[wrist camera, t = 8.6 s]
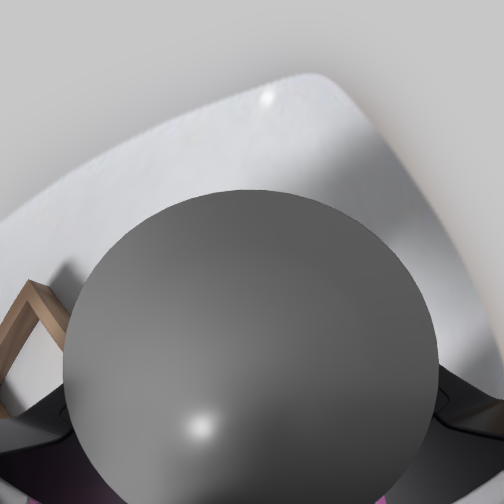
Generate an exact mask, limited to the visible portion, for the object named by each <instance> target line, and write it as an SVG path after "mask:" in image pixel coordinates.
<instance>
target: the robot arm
mask: <svg viewBox="0 0 504 504" xmlns="http://www.w3.org/2000/svg"><path fill="white" fill-rule="evenodd" d="M384 496H385V501H386V504H504V400H501V399H496V398H493V397H491V396H489V395H487V394H486V393H484V392H482V391H481V390H479V389H477V388H476V387H474V386H472V385H471V384H469V383H467V382H466V381H464V380H462V379H461V378H459V377H458V376H456V375H455V374H453V373H451V372H450V371H448V370H447V369H446V368H444V367H443V366H441V365H440V364H439V377H438V390H437V396H436V402H435V407H434V412H433V415H432V418H431V421H430V424H429V427H428V430H427V433H426V435H425V437H424V440H423V442H422V444H421V446H420V448H419V450H418V452H417V454H416V456H415V457H414V459H413V460H412V462H411V463H410V465H409V466H408V468H407V469H406V471H405V472H404V474H403V475H402V476H401V477H400V478H399V480H398V481H397V482H396V483H395V484H394V485H393V487H392V488H391V489H390V490H389V491H388V492H387V493H386V494H385V495H384ZM0 504H128V503H127V502H125V501H124V500H123V499H122V498H121V497H120V496H119V495H118V494H117V493H116V492H115V491H114V490H113V489H112V488H111V487H110V486H109V485H108V484H107V483H106V482H105V481H104V479H103V478H102V477H101V475H100V474H99V473H98V471H97V470H96V469H95V467H94V466H93V465H92V463H91V462H90V460H89V458H88V456H87V455H86V453H85V451H84V449H83V448H82V446H81V444H80V442H79V439H78V437H77V435H76V432H75V430H74V427H73V425H72V422H71V419H70V415H69V411H68V407H67V403H66V399H65V391H64V383H63V384H61V385H60V386H59V387H58V388H56V389H55V390H54V391H53V392H51V393H50V394H49V395H47V396H46V397H44V398H43V399H42V400H40V401H39V402H38V403H36V404H35V405H33V406H32V407H31V408H29V409H28V410H26V411H25V412H24V413H22V414H21V415H19V416H17V417H14V418H10V419H0Z"/></svg>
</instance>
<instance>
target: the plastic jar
mask: <svg viewBox="0 0 504 504" xmlns="http://www.w3.org/2000/svg"><path fill="white" fill-rule="evenodd" d="M438 377H439V359H438V349H437V340H436V336H435V331H434V327H433V323H432V319H431V316H430V313H429V311H428V308H427V306H426V303H425V301H424V298H423V296H422V294H421V292H420V290H419V288H418V287H417V285H416V283H415V281H414V280H413V278H412V276H411V274H410V273H409V271H408V270H407V269H406V267H405V266H404V265H403V264H402V262H401V261H400V260H399V258H398V257H397V256H396V255H395V253H394V252H393V251H392V250H391V249H390V248H389V247H388V246H387V245H386V244H385V243H384V242H383V241H382V240H381V239H379V238H378V237H377V236H376V235H375V234H373V233H372V232H371V231H370V230H368V229H367V228H366V227H364V226H363V225H362V224H360V223H359V222H357V221H356V220H354V219H352V218H351V217H349V216H347V215H345V214H344V213H342V212H340V211H338V210H336V209H334V208H332V207H329V206H327V205H324V204H322V203H320V202H317V201H315V200H311V199H308V198H304V197H300V196H297V195H293V194H289V193H282V192H275V191H267V190H234V191H225V192H217V193H212V194H208V195H203V196H199V197H195V198H191V199H189V200H186V201H183V202H181V203H178V204H176V205H173V206H170V207H168V208H166V209H164V210H162V211H160V212H159V213H157V214H155V215H153V216H151V217H149V218H148V219H146V220H144V221H143V222H142V223H140V224H139V225H137V226H136V227H135V228H133V229H132V230H131V231H129V232H128V233H127V234H125V235H124V236H123V237H122V238H121V239H120V240H119V241H118V242H117V243H116V244H115V245H114V246H113V247H112V248H111V249H110V250H109V251H108V252H107V253H106V254H105V256H104V257H103V258H102V259H101V261H100V262H99V263H98V264H97V265H96V267H95V268H94V270H93V271H92V273H91V274H90V276H89V278H88V279H87V281H86V283H85V284H84V286H83V288H82V290H81V292H80V294H79V296H78V299H77V301H76V303H75V305H74V308H73V311H72V314H71V317H70V321H69V324H68V328H67V331H66V338H65V344H64V351H63V383H64V391H65V399H66V403H67V407H68V411H69V415H70V419H71V422H72V425H73V427H74V430H75V432H76V435H77V437H78V439H79V442H80V444H81V446H82V448H83V449H84V451H85V453H86V455H87V456H88V458H89V460H90V462H91V463H92V465H93V466H94V467H95V469H96V470H97V471H98V473H99V474H100V475H101V477H102V478H103V479H104V481H105V482H106V483H107V484H108V485H109V486H110V487H111V488H112V489H113V490H114V491H115V492H116V493H117V494H118V495H119V496H120V497H121V498H122V499H123V500H124V501H125V502H127V503H128V504H375V503H376V502H377V501H378V500H379V499H380V498H382V497H383V496H384V495H385V494H386V493H387V492H388V491H389V490H390V489H391V488H392V487H393V485H394V484H395V483H396V482H397V481H398V480H399V478H400V477H401V476H402V475H403V474H404V472H405V471H406V469H407V468H408V466H409V465H410V463H411V462H412V460H413V459H414V457H415V456H416V454H417V452H418V450H419V448H420V446H421V444H422V442H423V440H424V437H425V435H426V433H427V430H428V427H429V424H430V421H431V418H432V415H433V412H434V407H435V402H436V396H437V390H438Z"/></svg>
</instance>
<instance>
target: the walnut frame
mask: <svg viewBox="0 0 504 504" xmlns="http://www.w3.org/2000/svg"><path fill="white" fill-rule="evenodd" d="M70 317H71V316H70V315H69V314H68V312H67V311H66V310H65V308H64V307H63V306H62V304H61V303H60V302H59V300H58V299H57V297H56V296H55V295H54V293H53V292H52V290H51V289H50V287H48V286H45V285H42V284H40V283H37V282H34V281H32V280H29V279H28V281H27V282H26V284H25V285H24V287H23V288H22V290H21V292H20V293H19V295H18V296H17V298H16V300H15V301H14V303H13V304H12V306H11V308H10V309H9V311H8V313H7V315H6V316H5V318H4V320H3V322H2V323H1V325H0V385H1V383H2V382H3V380H4V378H5V376H6V374H7V372H8V370H9V369H10V367H11V365H12V363H13V361H14V360H15V358H16V356H17V354H18V353H19V351H20V349H21V348H22V346H23V344H24V343H25V341H26V340H27V338H28V336H29V335H30V333H31V332H32V330H33V328H34V327H35V325H36V324H37V322H38V321H39V319H40V321H41V322H42V324H43V325H44V327H45V328H46V329H47V331H48V332H49V334H50V335H51V337H52V338H53V339H54V341H55V342H56V343H57V345H58V346H59V348H60V349H61V350H62V352H63V351H64V344H65V338H66V331H67V328H68V324H69V321H70ZM10 418H11V417H10V415H9V414H8V412H7V410H6V409H5V407H4V406H3V404H2V403H1V401H0V419H10Z"/></svg>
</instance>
